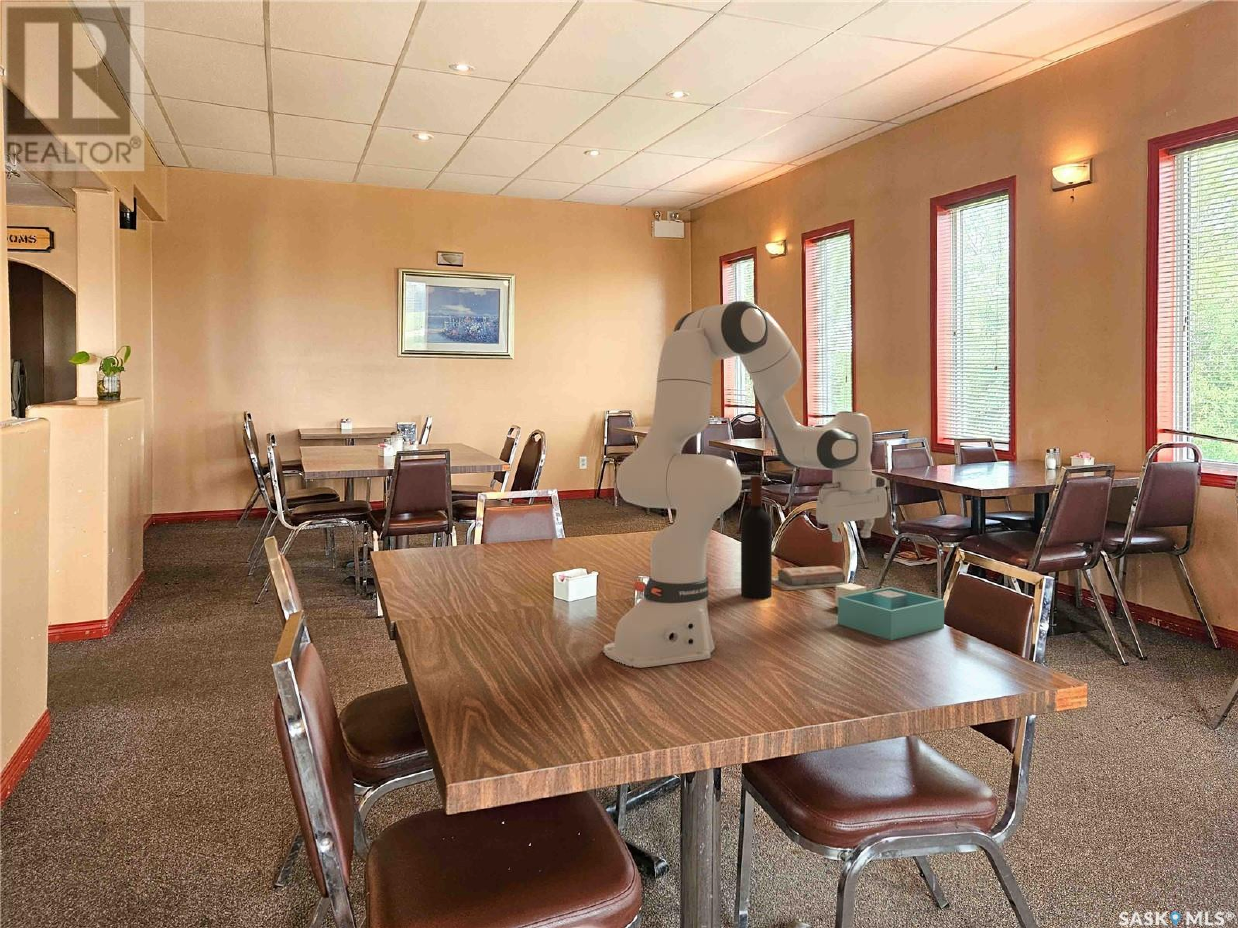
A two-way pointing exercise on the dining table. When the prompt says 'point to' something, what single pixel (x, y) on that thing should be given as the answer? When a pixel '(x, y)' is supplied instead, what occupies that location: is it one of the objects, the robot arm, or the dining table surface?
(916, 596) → the box
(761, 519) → the wine bottle
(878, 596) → the steel block
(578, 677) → the dining table surface
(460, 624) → the dining table surface
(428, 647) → the dining table surface
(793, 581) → the packaged product
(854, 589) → the cream box
